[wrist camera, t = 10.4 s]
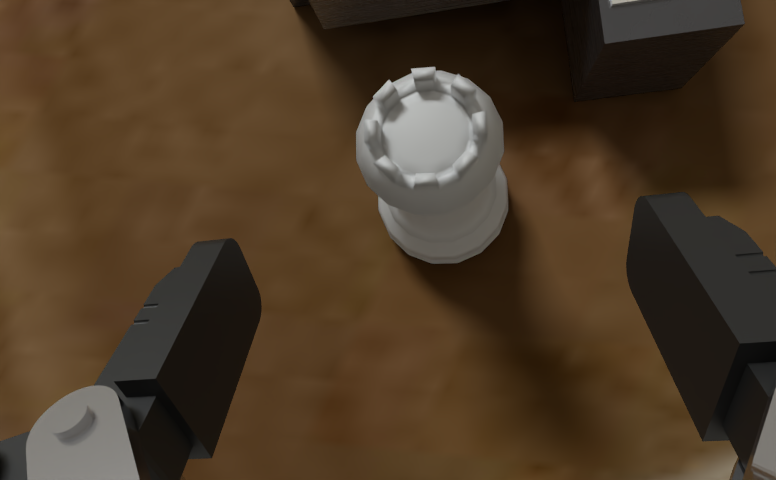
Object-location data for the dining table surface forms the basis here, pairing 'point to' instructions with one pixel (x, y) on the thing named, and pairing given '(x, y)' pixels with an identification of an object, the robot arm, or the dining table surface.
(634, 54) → the gauge frame
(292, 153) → the dining table surface
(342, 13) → the gauge plate
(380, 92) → the rook chess piece
